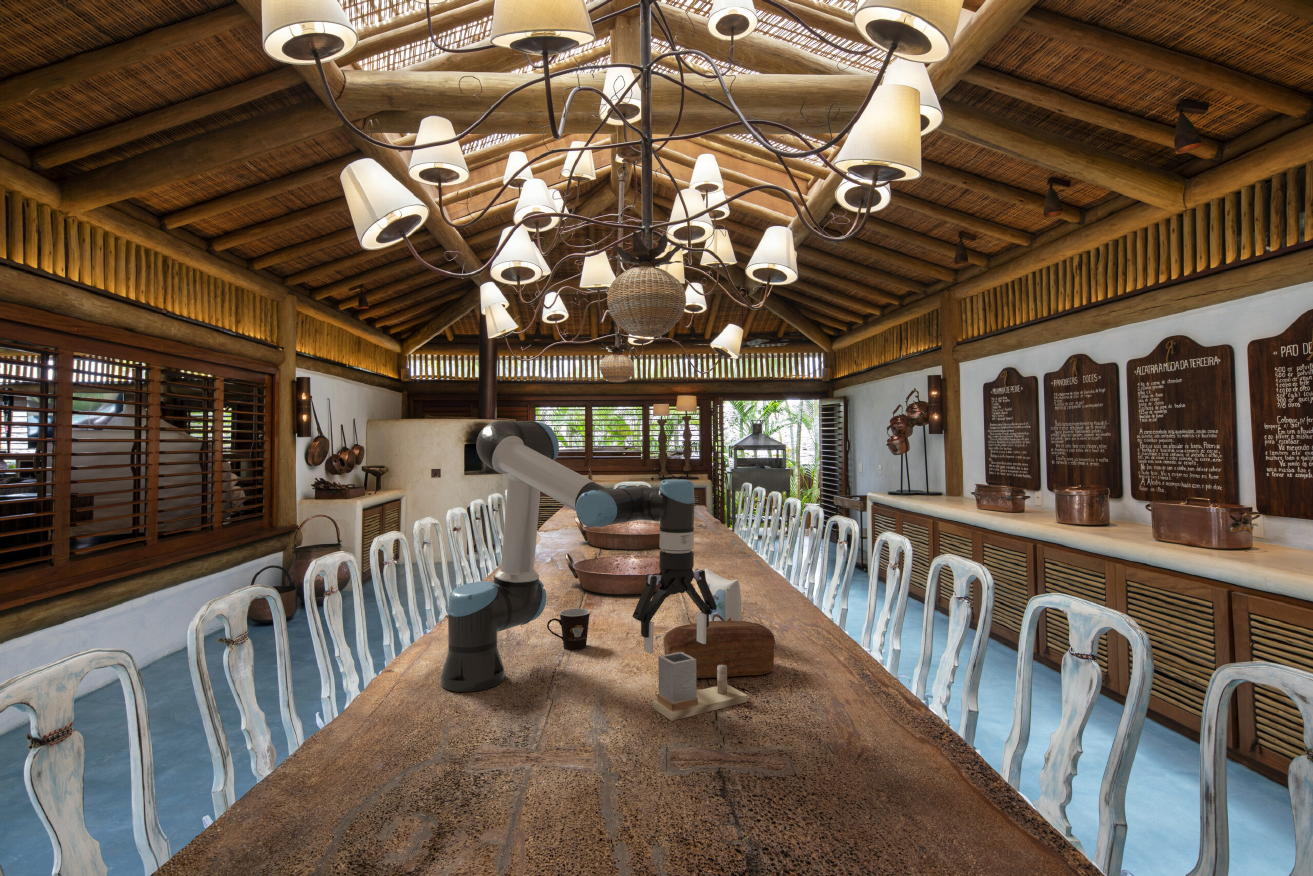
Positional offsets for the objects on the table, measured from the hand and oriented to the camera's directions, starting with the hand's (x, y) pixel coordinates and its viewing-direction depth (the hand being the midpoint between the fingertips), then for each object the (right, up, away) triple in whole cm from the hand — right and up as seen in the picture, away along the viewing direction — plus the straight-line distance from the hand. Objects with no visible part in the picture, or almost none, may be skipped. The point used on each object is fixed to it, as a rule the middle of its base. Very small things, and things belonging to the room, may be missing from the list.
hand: (675, 647), depth 143 cm
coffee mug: (-29, -15, +45) cm, 55 cm away
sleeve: (0, -12, 0) cm, 12 cm away
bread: (+12, -14, +24) cm, 30 cm away
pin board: (+6, -14, +3) cm, 15 cm away
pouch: (+15, -14, +50) cm, 54 cm away
